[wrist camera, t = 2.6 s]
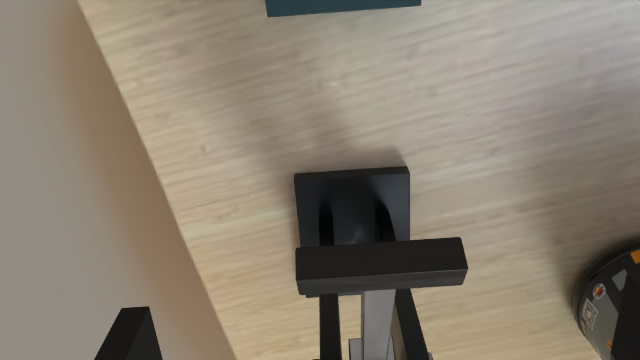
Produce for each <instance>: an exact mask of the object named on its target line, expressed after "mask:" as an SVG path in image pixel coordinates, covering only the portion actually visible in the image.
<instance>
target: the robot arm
mask: <svg viewBox="0 0 640 360" xmlns="http://www.w3.org/2000/svg"><path fill="white" fill-rule="evenodd" d="M610 353H611V354H612V356H613V357H614V359H615V360H640V274H629V275H626V279H625V284H624V289H623V294H622V298H621V303H620V308H619V313H618V318H617V323H616V327H615V332H614V337H613V342H612V347H611V352H610ZM94 360H162V355H161V351H160V347H159V344H158V340H157V336H156V332H155V328H154V324H153V320H152V316H151V313H150V309H149V307H132V308H122V309H121V310H120V312H119V314H118V316H117V318H116V320H115V322H114V324H113V325H112V327H111V329H110V331H109V333H108V335H107V336H106V339H105V340H104V342H103V344H102V346H101V348H100V350H99V351H98V353H97V355H96V357H95V359H94Z"/></svg>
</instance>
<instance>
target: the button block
mask: <svg viewBox="0 0 640 360" xmlns="http://www.w3.org/2000/svg"><path fill="white" fill-rule="evenodd" d="M411 6H421V0H266V8H267V16H268V17H279V16H292V15H306V14H319V13H332V12H345V11H358V10H372V9H385V8H398V7H411Z"/></svg>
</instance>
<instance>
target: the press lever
mask: <svg viewBox="0 0 640 360" xmlns="http://www.w3.org/2000/svg"><path fill="white" fill-rule="evenodd" d="M295 254H296V282H297V287H298V291H299V294H300V295H312V294H328V293H344V292H360V291H361V338H355V339H349V360H396V358H395V350H394V342H393V337H392V336H390V332H391V324H392V316H393V308H394V301H395V293H396V289H407V288H423V287H439V286H455V285H462V284H463V282H464V279H465V276H466V273H467V270H468V265H467V261H466V257H465V252H464V248H463V244H462V240H461V238H460V237H454V238H438V239H423V240H408V241H392V242H377V243H362V244H346V245H331V246H316V247H300V248H296V250H295Z"/></svg>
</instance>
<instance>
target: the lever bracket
mask: <svg viewBox="0 0 640 360" xmlns="http://www.w3.org/2000/svg"><path fill="white" fill-rule="evenodd" d="M294 185H295V195H296V204H297V214H298V224H299V234H300V244H301V247H316V246H331V245H346V244H362V243H377V242H392V241H408V240H410V172H409V170H408V168H407V166H401V167H387V168H372V169H357V170H343V171H328V172H314V173H299V174H295V177H294ZM359 294H361V291H360V292H344V293H328V294H312V295H306V298H312V297H319V306H320V359H313V360H342V350H341V334H340V318H339V302H338V296H343V295H359ZM390 336H392V337H393V342H394V350H395V358H396V360H433V357H432V354H431V353H430V352H428V351H427V348H426V344H425V340H424V337H423V333H422V330H421V326H420V322H419V319H418V315H417V311H416V308H415V304H414V301H413V297H412V293H411V290H410V288H407V289H396V293H395V301H394V308H393V316H392V324H391V332H390Z"/></svg>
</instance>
